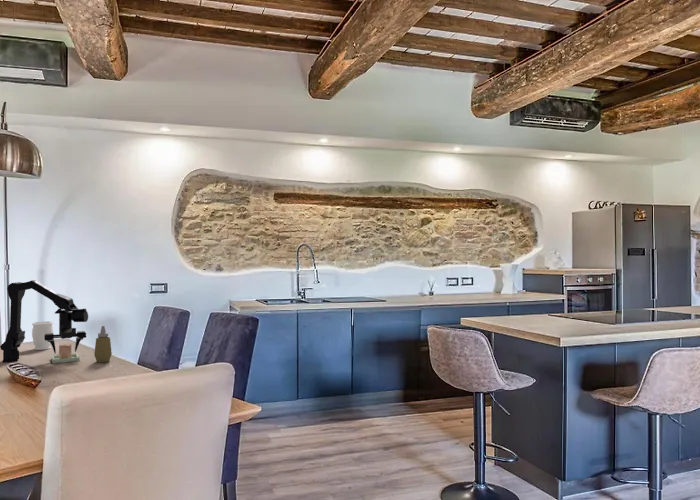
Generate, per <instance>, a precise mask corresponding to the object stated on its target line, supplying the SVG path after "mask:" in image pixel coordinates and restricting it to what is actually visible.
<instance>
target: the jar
mask: <svg viewBox="0 0 700 500" xmlns="http://www.w3.org/2000/svg"><path fill="white" fill-rule="evenodd" d="M31 324H32V326H33V327H32V329H31V330H32V331H31V336H32V337H31V338H32V342H33V345H34V348H33V349H34V350H35V351H42V350H43V351H44V350H50V349H51V348H52V345H51V343H50V342H48V341H45V340H44V335H45V334H49V333H53V334H54V327H53V325H54V322H53V321H36V322H32V323H31Z"/></svg>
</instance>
